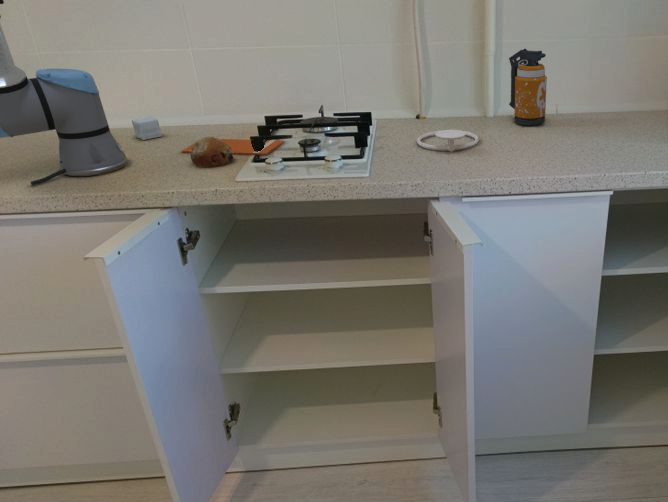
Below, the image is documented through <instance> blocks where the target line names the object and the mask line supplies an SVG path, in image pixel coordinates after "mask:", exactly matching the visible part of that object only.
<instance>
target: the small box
mask: <svg viewBox="0 0 668 502" xmlns="http://www.w3.org/2000/svg"><path fill="white" fill-rule="evenodd" d="M131 124H132V128H133V131H134V134H135V137H136V138H138V139H139V140H142V141H145V140H151V139H155V138H160V137H163V134H162V131H161V127H160V123H159V119H157V118H155V117H152V116H147V117H142V118H137V119H136V118H135V119H132V120H131Z"/></svg>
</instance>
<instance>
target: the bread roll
mask: <svg viewBox="0 0 668 502" xmlns="http://www.w3.org/2000/svg"><path fill="white" fill-rule="evenodd" d="M220 139H221V138H218V137H213V136H206V137H202V138H201V139H199V140H197V141H196V142H194V143H193V144H194V145H193V144H192V145H193V147H192V150H191V153H189V154H190V160H191V162H192V164H193V165H194V166H196V167H198V168H218V167H224V166H226V165H229V164H230V163H232V162H233V159H234V155H235V154H234V153H233V152H232V150H231V147H230V146H228V145H227V144H226V143H225V142H224V141H222V140H220Z"/></svg>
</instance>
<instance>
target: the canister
mask: <svg viewBox="0 0 668 502" xmlns="http://www.w3.org/2000/svg"><path fill="white" fill-rule="evenodd" d="M545 57H546V53H544V52H543V51H542V50H528V49H527V48H523V49H520V50H518V51H517V52H516V53H514V54H513V55H511V56H509V58H508V60H509V64H510V69H511V70H510V102H509V103H508V105H509V106H510V107H511V108H512V109H513V110H514V119H513V121H514V123H516V124H519V125H520V126H525V127H532V126H533V127H535V126H539V125H540V124H543V123H545V122H546V106H547V83H548V82H547V81H548V77H547V76H546V68H545V65H544V64H543V63H539V62H540V61H542V59H544V58H545Z"/></svg>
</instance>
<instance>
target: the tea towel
mask: <svg viewBox="0 0 668 502" xmlns="http://www.w3.org/2000/svg"><path fill="white" fill-rule="evenodd" d="M219 139H220V140H222V141H224V142H225V143H226V144H227V145H228V146H230V147H231V150H232V152H233V153H234V154H233V155H246V156H247V155H248V156H249V155H250V156H267V155H269V154H270V153H272V152H273V151H274V150H276V149H277V148H278V147H281V146H282V145H283V144H284V143H285V140H282V139H281V140H277V139H266V140H267V141H266V142H265V145H264V148H263V149H262V150H261V151H258V152H255V151H254V149H253V147H252V144H251V140H252V139H231V138H219ZM194 144H195V143H193V144H191V145H189V146H188V147H186V148H184V149H182V150H181V153H182V154H191V150H192V147H193V145H194Z"/></svg>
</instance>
